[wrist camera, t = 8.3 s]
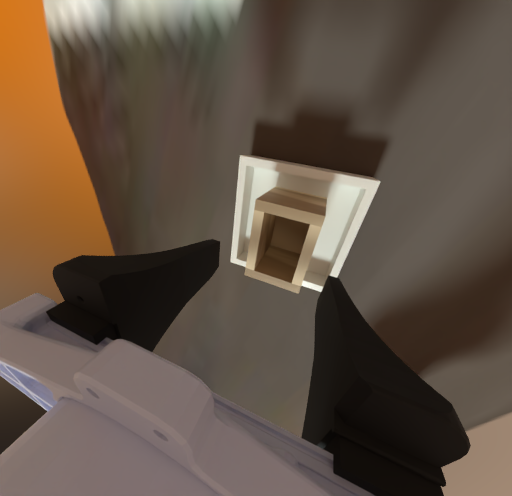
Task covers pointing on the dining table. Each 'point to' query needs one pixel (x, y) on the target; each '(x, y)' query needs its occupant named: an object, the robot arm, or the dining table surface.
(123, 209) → the dining table surface
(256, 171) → the white square tray
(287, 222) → the pine crate
